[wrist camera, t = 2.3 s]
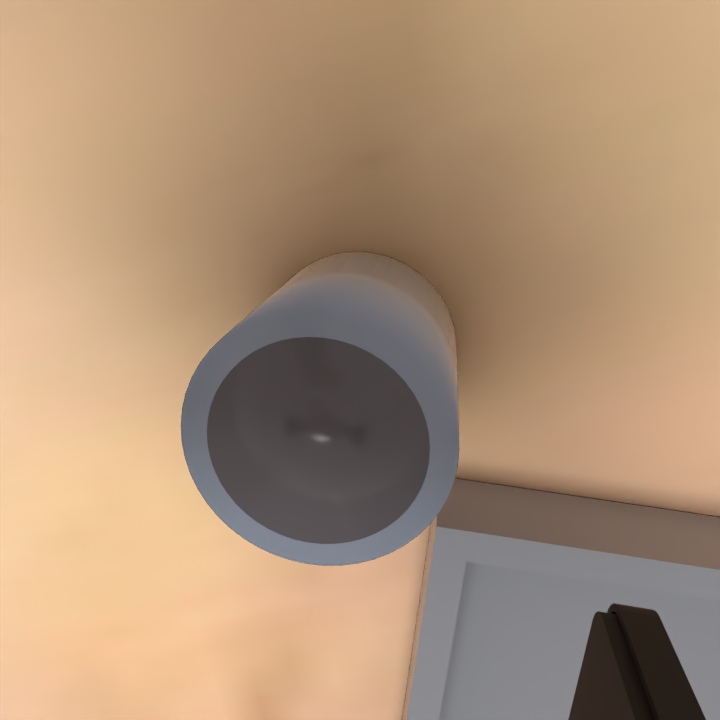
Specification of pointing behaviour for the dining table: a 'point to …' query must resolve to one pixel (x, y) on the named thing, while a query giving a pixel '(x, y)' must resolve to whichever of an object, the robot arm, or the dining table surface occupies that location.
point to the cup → (330, 413)
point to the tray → (552, 598)
